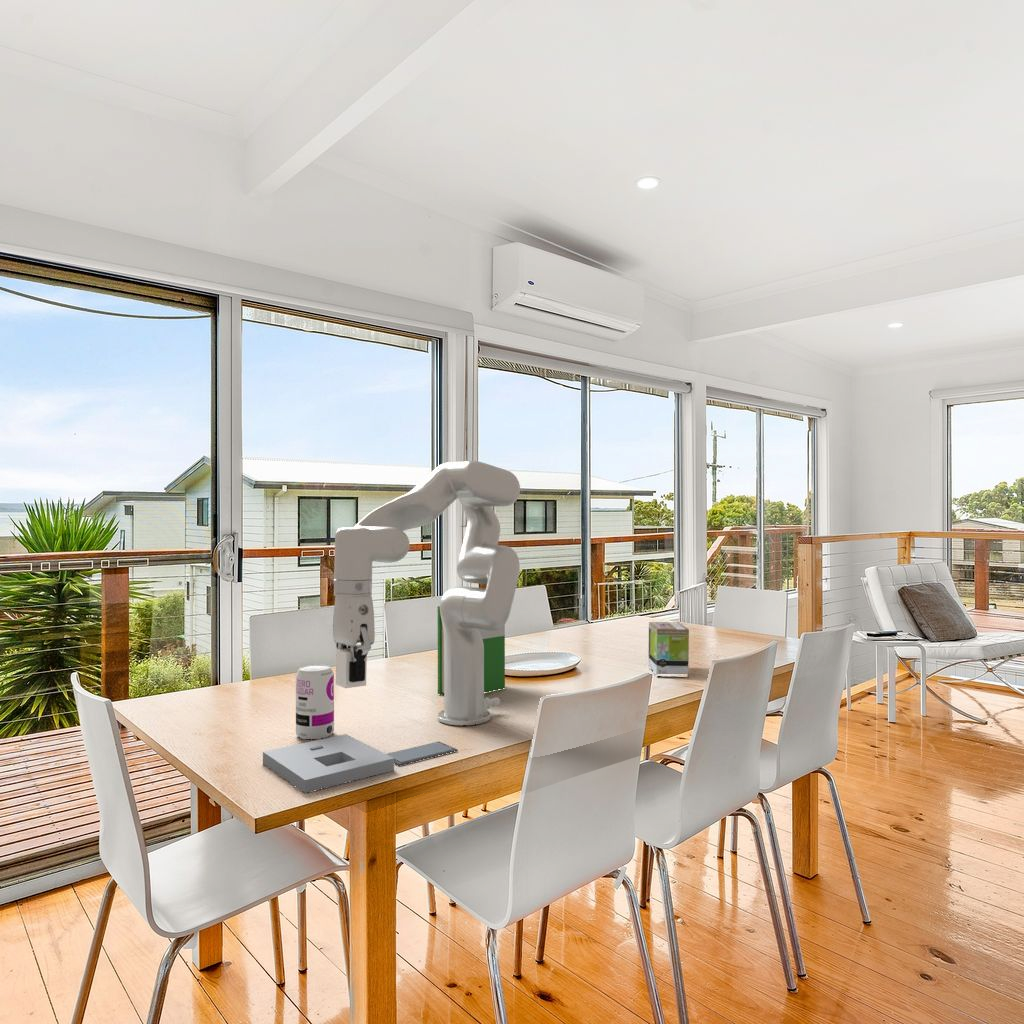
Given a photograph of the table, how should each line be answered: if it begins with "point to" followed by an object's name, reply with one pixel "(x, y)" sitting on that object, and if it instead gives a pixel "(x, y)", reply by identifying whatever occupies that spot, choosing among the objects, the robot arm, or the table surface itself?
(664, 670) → the tea box
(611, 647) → the table surface
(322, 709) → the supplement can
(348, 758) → the grey peg hole board
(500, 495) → the robot arm
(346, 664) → the charger block
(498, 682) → the hardback book
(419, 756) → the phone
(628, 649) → the table surface
